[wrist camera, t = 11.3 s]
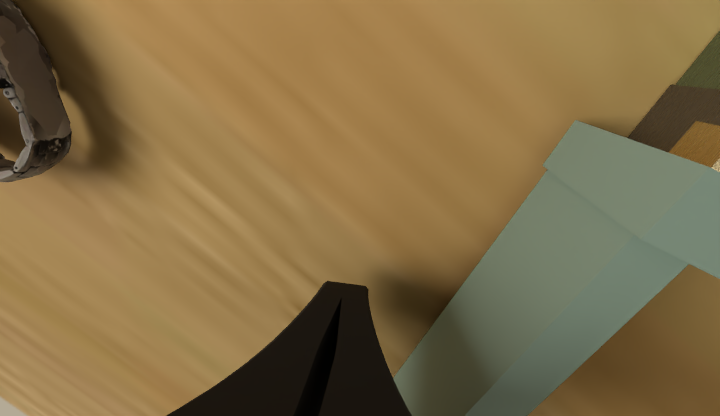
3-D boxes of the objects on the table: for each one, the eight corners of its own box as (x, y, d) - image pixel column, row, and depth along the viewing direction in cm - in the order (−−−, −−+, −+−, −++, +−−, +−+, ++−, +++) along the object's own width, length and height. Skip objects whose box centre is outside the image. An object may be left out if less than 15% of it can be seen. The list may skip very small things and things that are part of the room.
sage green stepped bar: (408, 412, 14) (411, 549, 10) (373, 397, 14) (362, 530, 10) (626, 146, 9) (794, 212, 5) (575, 119, 9) (709, 166, 5)
